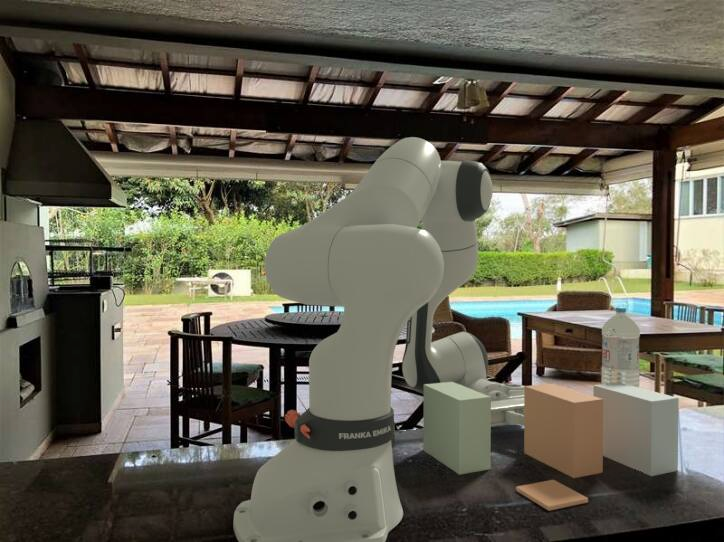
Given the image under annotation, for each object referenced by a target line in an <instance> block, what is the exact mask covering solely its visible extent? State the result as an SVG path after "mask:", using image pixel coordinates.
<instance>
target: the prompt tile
mask: <svg viewBox="0 0 724 542" xmlns="http://www.w3.org/2000/svg"><path fill="white" fill-rule="evenodd" d="M515 491H516V492H518V493H519V494H521V495H522V496H523V497H525V498H527V499H528V500H530V501H532V502H533V503H535V504H537V505H538V506H540V507H541V508H543V509H545V510H547V511H549V512H551V511H554V510H559V509H564V508H568V507H573V506H578V505H581V504H582V505H583V504H587V503H589V498H588V497H587V496H585V495H583V494H581V493H580V492H578V491H576V490H574V489H572V488H570V487H568V486H566V485H564V484H562V483H560V482H559V481H557V480H555V479H549V480H545V481H539V482H538V481H537V482H533V483H530V484H529V483H528V484H523V485H518V486H515Z"/></svg>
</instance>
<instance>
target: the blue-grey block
mask: <svg viewBox="0 0 724 542" xmlns="http://www.w3.org/2000/svg"><path fill="white" fill-rule="evenodd" d="M592 392H593V394H592V396H595V397H598V398H601V399H603V457H605V458H607V459H610V460H612V461H615V462H617V463H619V464H621V465H624V466H626V467H629V468H630V469H633V470H635V469H636V471H638V470H639V471H638V472H640V471H641V472H640V473H642V472H643V474H645V475H647V476H650V477H654V476H659V475H665V474H667V473H673V472H677V471H678V470H679V404H680V403H679V397H678V396H674V395H673V396H672V395H669V394H665V393H661V392H657V391H652V390H650V389H645V388H641V387H639V388H638V387H634V386H630V385H626V384H623V383H619V382H618V383H610V384H602V383H601V384H596V385H595V384H593V391H592Z"/></svg>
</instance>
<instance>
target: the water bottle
mask: <svg viewBox="0 0 724 542" xmlns="http://www.w3.org/2000/svg"><path fill="white" fill-rule="evenodd" d="M615 313H616V314H615V315H613V316H611V317H610V318H609V319H608V320H607V321H606V322H605V323H604V324H603V326H602V328H601V335H602V342H601V343H602V348H601V349H602V350H601V356H602V357H601V363H602V364H601V377H600V378H601V384H610V383H618V382H619V383H623V384H626V385H630V386H634V387H638V388H640V381H641V380H640V375H641V374H640V337H641V335H640V333H641V329H640V328H639V326H638V325H637V323H636V322H635V321H634V320H633V319H632V318H630V317H629V316H627V315H626V313H627V308H626V307H621V306H617V307H615Z"/></svg>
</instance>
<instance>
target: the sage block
mask: <svg viewBox="0 0 724 542" xmlns="http://www.w3.org/2000/svg"><path fill="white" fill-rule="evenodd" d="M422 428H423V431H422V432H423V436H422V437H423V438H422V439H423V442H422V443H423V447H422V448H423V450H422V451H424V452H425V453H427V454H428V455H430V456H432V457H433V458H434V459H435V460H437V461H438V462H440V463H442V464H443V465H444V466H446V467H447V468H449V469H451V470H452V471H453V472H455V473H456V474H458V475H465V474H471V473H476V472H477V473H478V472H483V471H488V470H491V468H492V467H491V464H492V463H491V458H492V457H491V456H492V455H491V454H492V452H491V451H492V450H491V448H492V447H491V446H492V443H491V442H492V441H491V440H492V439H491V437H492V436H491V435H492V427H491V397H490V396H487V395H485V394H482V393H480V392H477V391H475V390H472V389H470V388H467V387H464V386H462V385H459V384H457V383H454V382H444V383H434V384H424V394H423V427H422Z"/></svg>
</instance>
